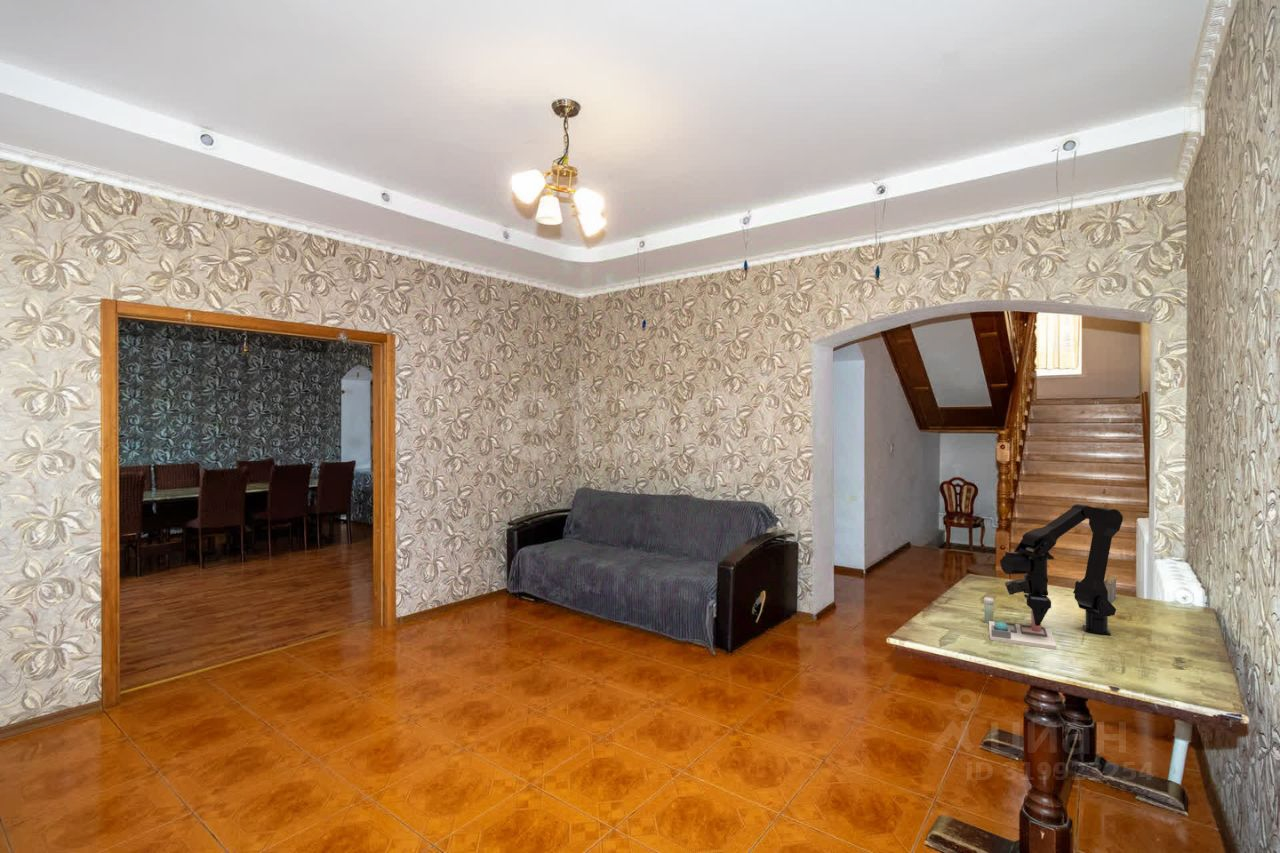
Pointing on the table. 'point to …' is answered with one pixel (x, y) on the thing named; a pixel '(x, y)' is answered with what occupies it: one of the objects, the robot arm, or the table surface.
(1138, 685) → the table surface
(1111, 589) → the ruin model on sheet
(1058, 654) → the table surface
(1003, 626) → the button
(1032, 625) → the rose marker
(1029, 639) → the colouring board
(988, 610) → the sage marker
